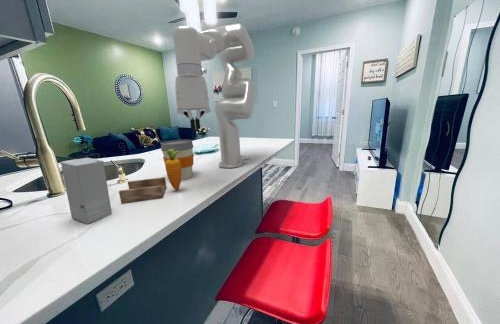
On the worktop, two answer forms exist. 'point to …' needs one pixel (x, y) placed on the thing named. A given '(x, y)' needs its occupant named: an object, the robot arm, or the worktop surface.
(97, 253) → the worktop surface
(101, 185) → the skincare box
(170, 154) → the carrot
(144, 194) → the walnut U-rest
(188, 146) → the reusable coffee cup
